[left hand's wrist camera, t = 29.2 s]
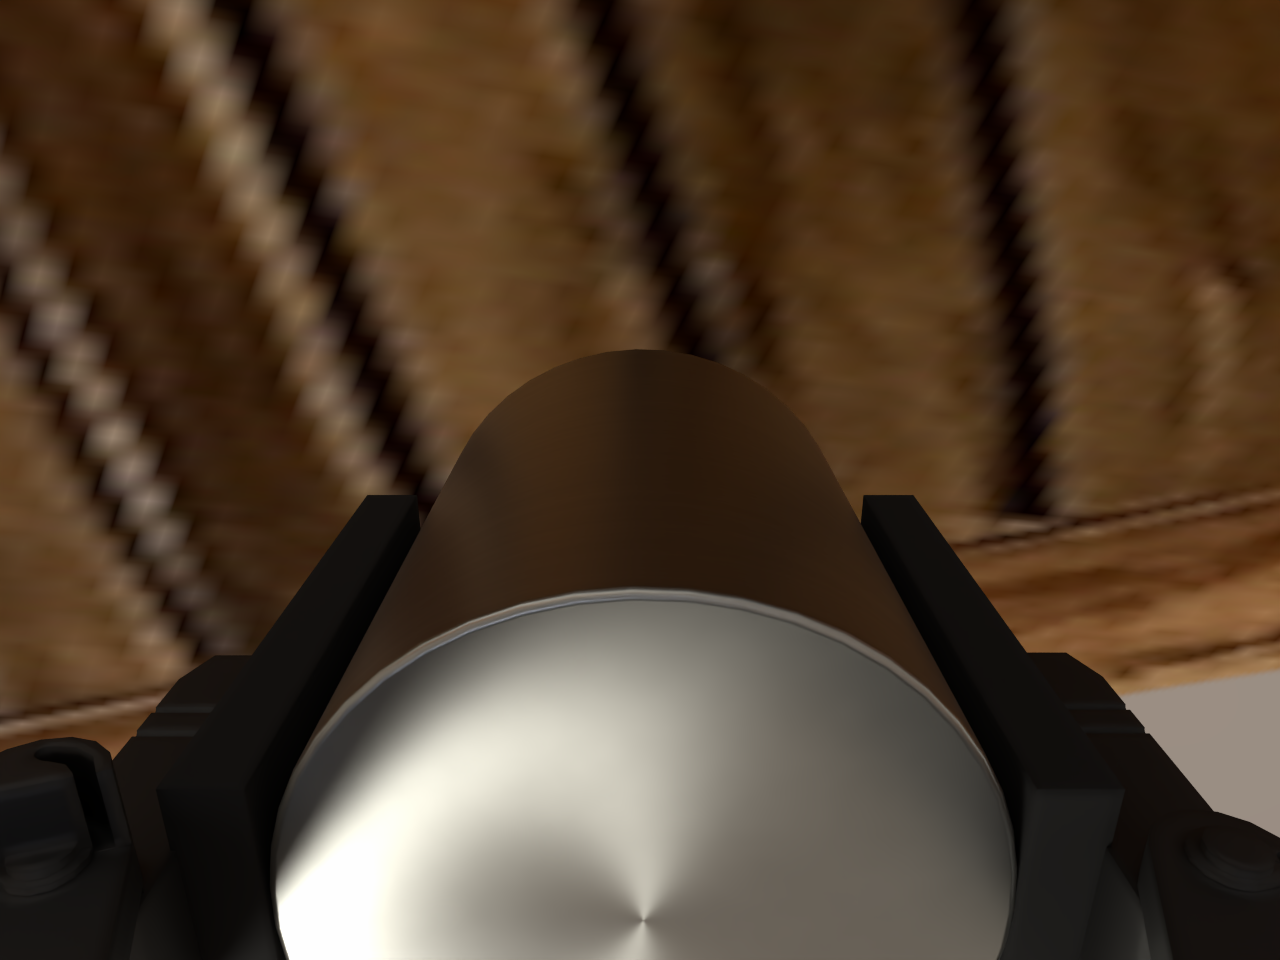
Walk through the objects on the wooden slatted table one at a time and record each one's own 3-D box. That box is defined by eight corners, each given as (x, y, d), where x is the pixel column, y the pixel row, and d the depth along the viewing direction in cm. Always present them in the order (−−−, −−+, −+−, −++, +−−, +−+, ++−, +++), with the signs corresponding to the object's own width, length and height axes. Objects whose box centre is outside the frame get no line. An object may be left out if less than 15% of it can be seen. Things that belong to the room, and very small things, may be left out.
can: (632, 257, 14) (624, 416, 6) (922, 535, 16) (1174, 909, 8) (362, 549, 16) (119, 931, 8) (648, 769, 17) (654, 1247, 10)
